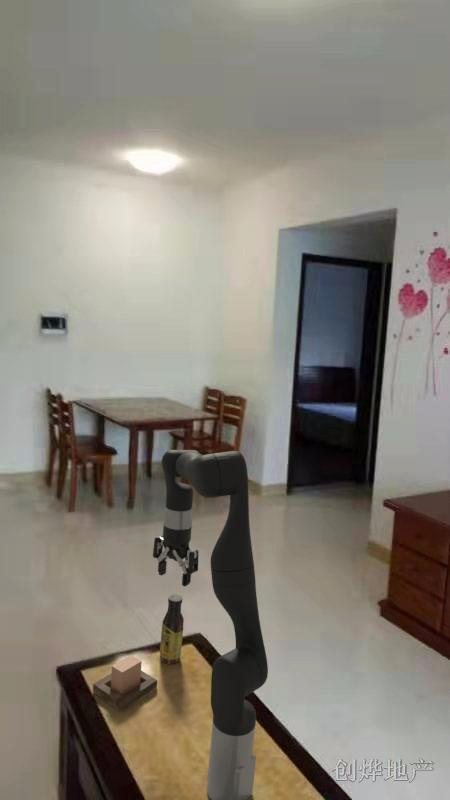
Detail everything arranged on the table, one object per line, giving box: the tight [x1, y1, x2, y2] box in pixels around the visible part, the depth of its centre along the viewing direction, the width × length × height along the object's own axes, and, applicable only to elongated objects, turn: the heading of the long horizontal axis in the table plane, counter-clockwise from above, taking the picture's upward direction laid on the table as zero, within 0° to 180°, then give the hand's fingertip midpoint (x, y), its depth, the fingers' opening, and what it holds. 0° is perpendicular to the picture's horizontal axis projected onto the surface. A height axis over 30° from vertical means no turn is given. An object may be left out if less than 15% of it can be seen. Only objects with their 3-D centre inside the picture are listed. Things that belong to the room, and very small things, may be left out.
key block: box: [110, 654, 143, 695], centre depth 163 cm, size 7×4×7 cm, turn 142°
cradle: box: [92, 670, 158, 713], centre depth 164 cm, size 11×13×2 cm
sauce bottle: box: [159, 593, 184, 665], centre depth 178 cm, size 7×6×20 cm
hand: (173, 579), depth 164 cm, fingers open, 8 cm apart
